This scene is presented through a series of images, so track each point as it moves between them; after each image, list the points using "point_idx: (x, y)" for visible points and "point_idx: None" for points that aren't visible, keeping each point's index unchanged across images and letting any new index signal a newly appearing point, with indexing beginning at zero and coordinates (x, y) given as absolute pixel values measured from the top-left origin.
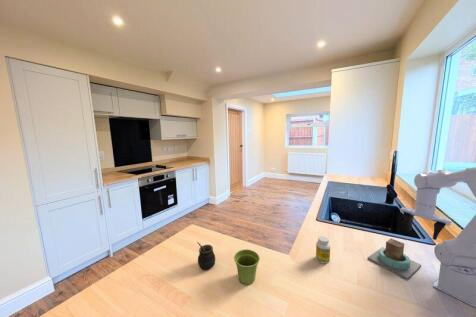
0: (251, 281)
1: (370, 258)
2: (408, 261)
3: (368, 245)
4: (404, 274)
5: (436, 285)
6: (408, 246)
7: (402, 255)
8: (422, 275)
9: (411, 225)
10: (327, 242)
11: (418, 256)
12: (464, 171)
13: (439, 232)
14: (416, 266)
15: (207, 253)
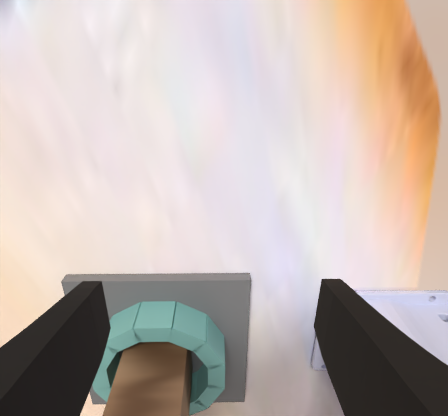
0: None
1: (104, 403)
2: (220, 375)
3: (10, 302)
4: (229, 394)
5: (321, 363)
6: (119, 90)
7: (186, 370)
8: (270, 330)
9: (72, 340)
10: None
11: (210, 180)
12: None
13: (403, 339)
14: (240, 312)
15: None
